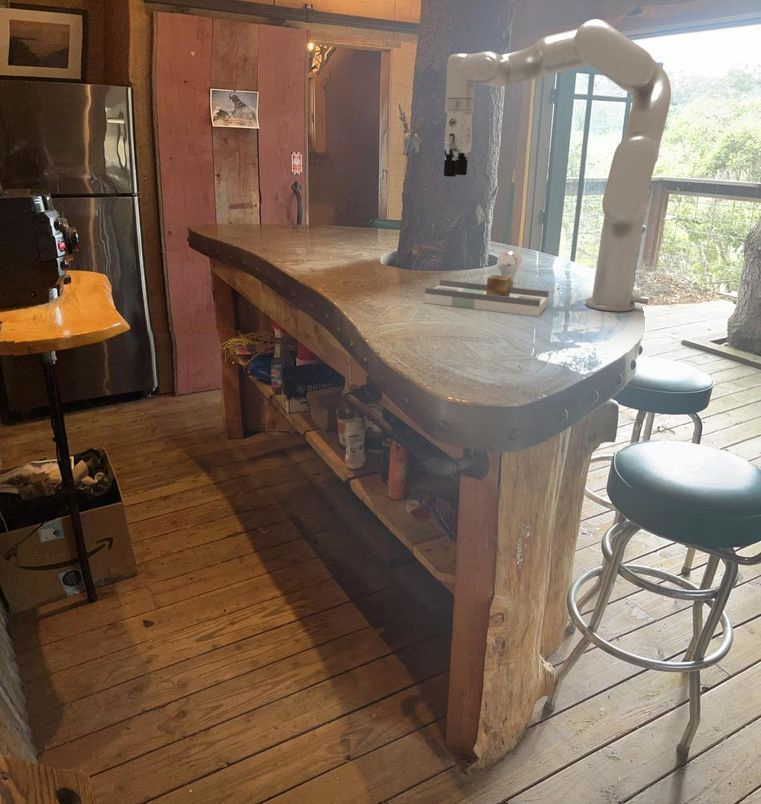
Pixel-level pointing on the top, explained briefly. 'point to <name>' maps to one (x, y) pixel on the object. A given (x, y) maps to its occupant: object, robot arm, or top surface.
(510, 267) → the light bulb
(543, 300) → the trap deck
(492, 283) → the walnut block
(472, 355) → the top surface
